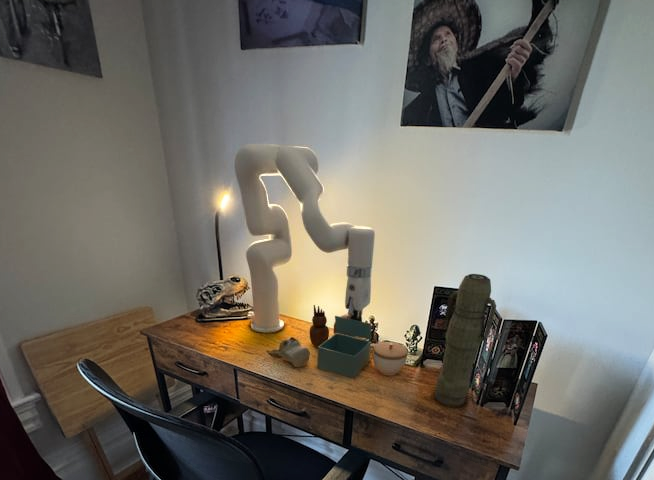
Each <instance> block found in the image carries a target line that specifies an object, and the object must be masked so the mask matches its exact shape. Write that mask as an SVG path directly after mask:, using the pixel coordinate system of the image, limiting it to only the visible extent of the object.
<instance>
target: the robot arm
mask: <svg viewBox="0 0 654 480" xmlns="http://www.w3.org/2000/svg"><path fill="white" fill-rule="evenodd" d="M234 157H235V158H234V173H235V177H236V180H237V183H238V187H239V191H240V197H241V203H242V211H243V217H244V222H245V227H246V230H247V232H248V234H249V235H251V236H252V237H265V236H268V237H269V238H266V239H261V240H256V241H254V242H252V243H251V244H249V245H248V247H247V248H246V250H245V252H246V253H245V257H246V262H247V265H248V269H249V274H250V283H251V294H252V295H251V296H252V308H253V311H250V310H249V311H248V312H247V315H246V318H247V319H249V320H251V323H250V328H251V329H252V330H253V331H255V332H257V333H264V334H267V333H275V332H279V331H281V330H282V329H283V328H284V326H285V323H284V321H283V320H281V318H280V298H279V297H280V295H279V294H280V293H279V281H278V277H277V275H276V273H275V271H274V268H275V267H279V266H283V265H286V264H287V263H289V262H290V260H291V258H292V255H293V253H292V252H293V249H292V247H293V246H292V238H291V237H292V236H291V230H290V222H289V217H288V214H287V212H286V210H284V208H283V207H282V206H280V205H278V204H273V203H271V204H270V203H269V197H268V191H267V188H266V187H267V186H266V185H265V183H264V181H263V180H262V179H261V177H262V176H281V178H282V179H283V180H284V183H285V184H286V185H287V186H288V188H289V189H290V191H291V192H292V194H293V195H294V197H295V198H296V200H297V201H298V203H299V205H300V215H301V216H300V217H301V221H302V224H303V227H304V230H305V231H306V233H307V235H308V236H309V237H310V239H311V240H312V242H313V244H314V245H315V246H316V248H318V249H319V250H320V251H321V252H324V253H327V254H331V253H335V252H339V251H343V250H347V258H346V260H347V261H346V277H347V280H346V288H345V298H344V307H345V309H346V310H348V311H347V313H348V315H350V319H352V320H357V321H361V318H362V319H363V317H362V316H363V312H364V309H365V308H366V307H368V306H369V305H370V303H371V292H372V272H373V271H372V270H373V260H374V249H375V238H376V237H375V235H376V234H375V230H374V229H373V228H371V227H369V226H359V225H355V224H353V223H350V222H347V221H343V222H336V223H329V222H328V221H327V220H326V218H325V216H324V214H323V213H322V211H321V209H320V206H319V205H320V204H319V202H320V201H321V199H322V198H323V196H324V195H325V186H324V185H323V183H322V182H321V180H320V179H319V177H318V176H317V173H318V172H319V167H320V163H319V158H318V156H317V154H316V153H315V152H314V150H312V149H311V148H310V147H306V146H299V145H298V146H295V145H283V144H273V143H262V142H261V143H260V142H253V143H252V142H251V143H247V144H244V145H242V146H241V147H240V148H239V149H238V150H237V152H236V154H235V156H234Z"/></svg>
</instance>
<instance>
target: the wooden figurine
mask: <svg viewBox="0 0 654 480" xmlns="http://www.w3.org/2000/svg"><path fill="white" fill-rule="evenodd" d="M325 313H326V312H325V310H323V308H320V305H318V306H317V307H316V305H315V304H313V316H312V317H311V321H312V324H311V326H310V327H309V339H310V343H311V344H312V346H314V347H316V348H318V347H319V346H320V345H321V344H323V343H324V342H325V341H327V340H328V339H329V338H330V329H329V327H328V326H327V322H328V319H327V316H326V314H325Z"/></svg>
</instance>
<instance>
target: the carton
mask: <svg viewBox="0 0 654 480" xmlns="http://www.w3.org/2000/svg"><path fill="white" fill-rule="evenodd" d="M371 346H372V341H371V340H368V339H364V338H360V337H356V336H346V335H342V334H338V333H336V334H334V333H333V335H332V336H331V337H329V338H328V340H327V341H325V342H324V343H323V344H321V345H320V346H319V347H317V369H321V370H323V371H328V372H332V373H335V374H339V375H342V376H345V377H349V378H352V379H354V378H355V377H356V376H357V375H358V374H359V373H360V372H361V371H362V370H363V369H364V368H365V366H366V365H367V364H368V363H369V362H370V358H371Z"/></svg>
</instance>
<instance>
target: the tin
mask: <svg viewBox="0 0 654 480" xmlns="http://www.w3.org/2000/svg"><path fill="white" fill-rule="evenodd" d="M340 317H344V318H348V319H350V315H348V312H347V313H345V314H343V315H341V316H340ZM361 322H363V317H362V318H361ZM336 333H338V334H342V335H346V336H350V337H353V335H349V334H344V333H340V332H336V323H335V322H334V323H333V335H334V334H336Z"/></svg>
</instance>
